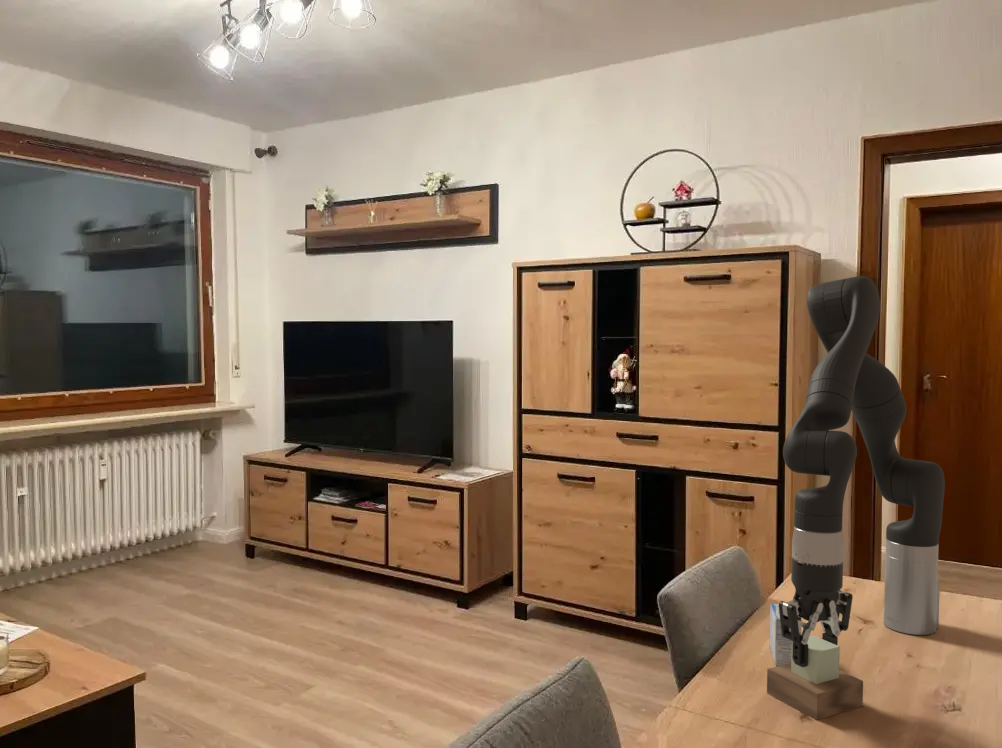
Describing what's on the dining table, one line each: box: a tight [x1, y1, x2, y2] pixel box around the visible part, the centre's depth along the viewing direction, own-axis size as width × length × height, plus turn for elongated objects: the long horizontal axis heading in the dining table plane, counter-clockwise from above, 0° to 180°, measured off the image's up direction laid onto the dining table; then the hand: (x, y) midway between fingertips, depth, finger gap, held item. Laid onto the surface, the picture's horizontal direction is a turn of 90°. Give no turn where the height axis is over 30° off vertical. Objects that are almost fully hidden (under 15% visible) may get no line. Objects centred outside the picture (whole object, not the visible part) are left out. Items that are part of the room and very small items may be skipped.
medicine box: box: [769, 603, 802, 667], centre depth 142 cm, size 8×4×9 cm, turn 168°
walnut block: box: [766, 663, 864, 721], centre depth 126 cm, size 10×10×4 cm
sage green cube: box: [791, 635, 841, 684], centre depth 126 cm, size 5×5×5 cm
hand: (814, 661), depth 126 cm, fingers open, 5 cm apart
